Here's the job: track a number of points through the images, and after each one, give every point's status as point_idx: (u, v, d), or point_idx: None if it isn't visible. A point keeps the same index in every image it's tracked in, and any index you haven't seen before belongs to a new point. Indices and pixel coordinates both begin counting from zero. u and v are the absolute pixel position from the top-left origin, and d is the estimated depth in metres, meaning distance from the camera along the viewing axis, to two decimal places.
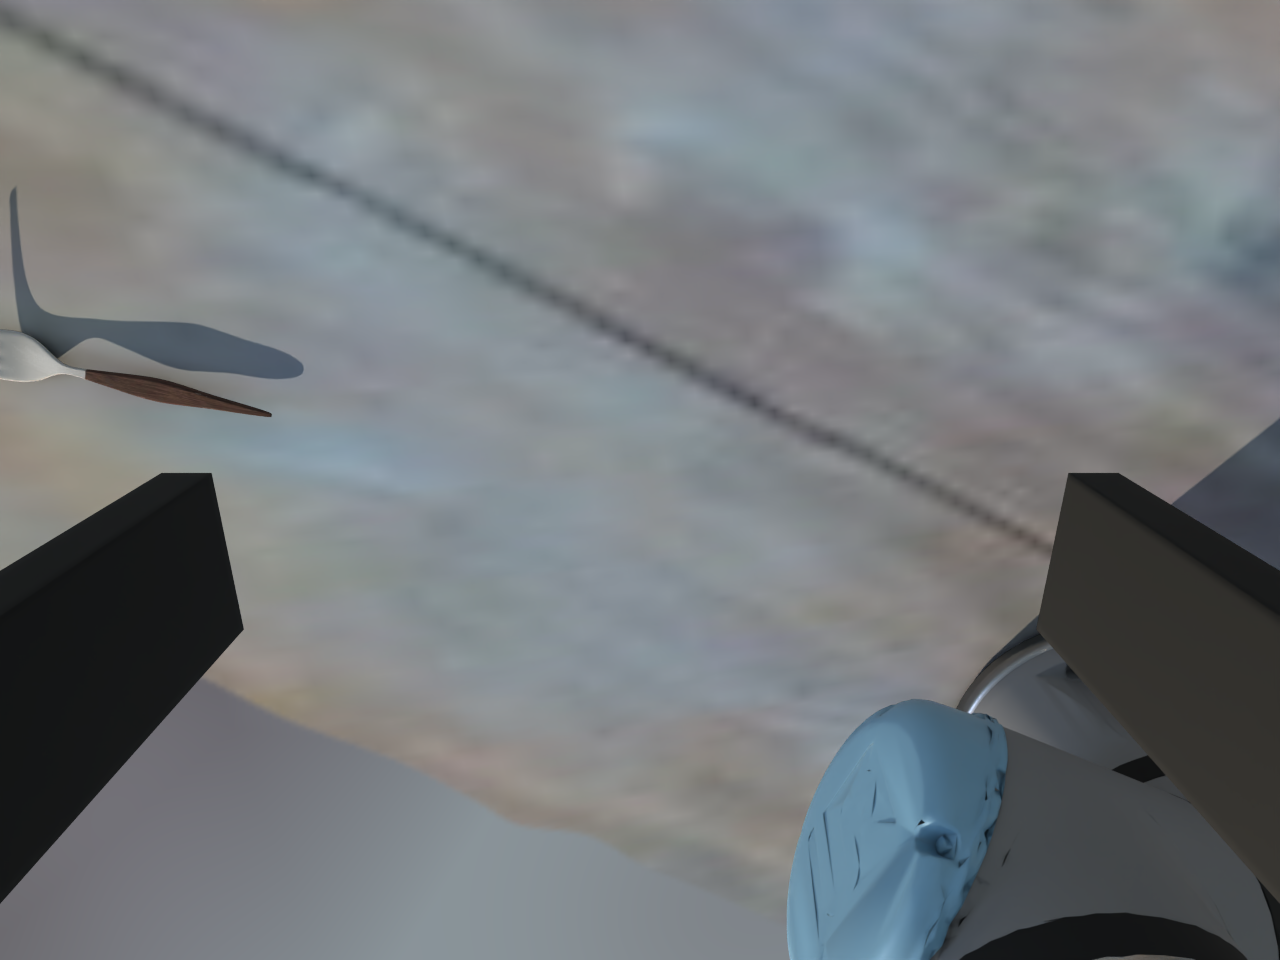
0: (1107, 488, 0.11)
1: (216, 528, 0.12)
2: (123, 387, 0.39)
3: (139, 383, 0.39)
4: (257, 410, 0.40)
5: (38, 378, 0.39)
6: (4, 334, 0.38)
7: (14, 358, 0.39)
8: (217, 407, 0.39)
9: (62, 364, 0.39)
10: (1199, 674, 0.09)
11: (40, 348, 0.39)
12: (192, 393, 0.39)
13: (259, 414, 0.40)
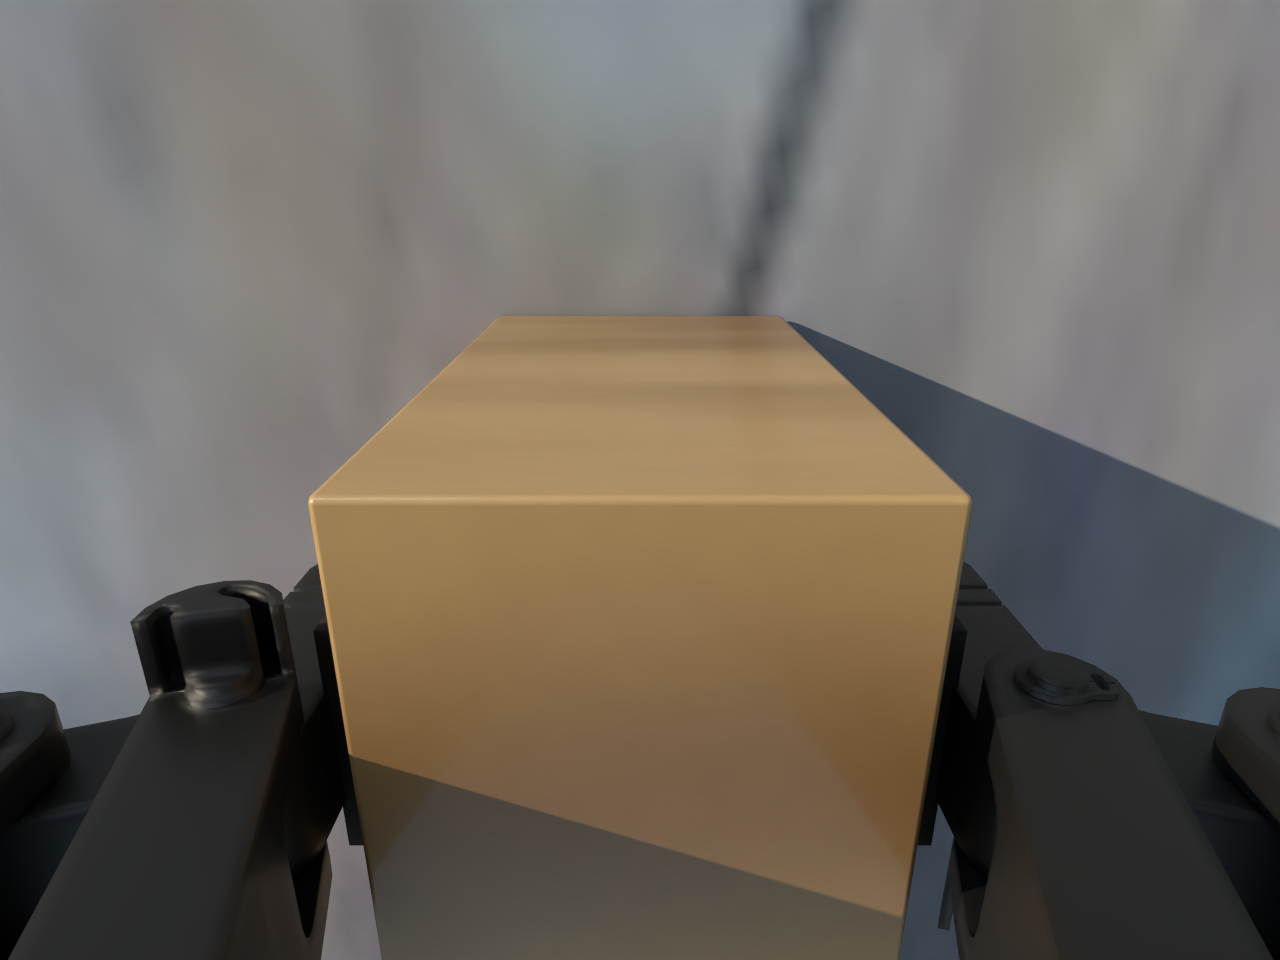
0: None
1: None
2: None
3: None
4: None
5: None
6: None
7: None
8: None
9: None
10: None
11: None
12: None
13: None
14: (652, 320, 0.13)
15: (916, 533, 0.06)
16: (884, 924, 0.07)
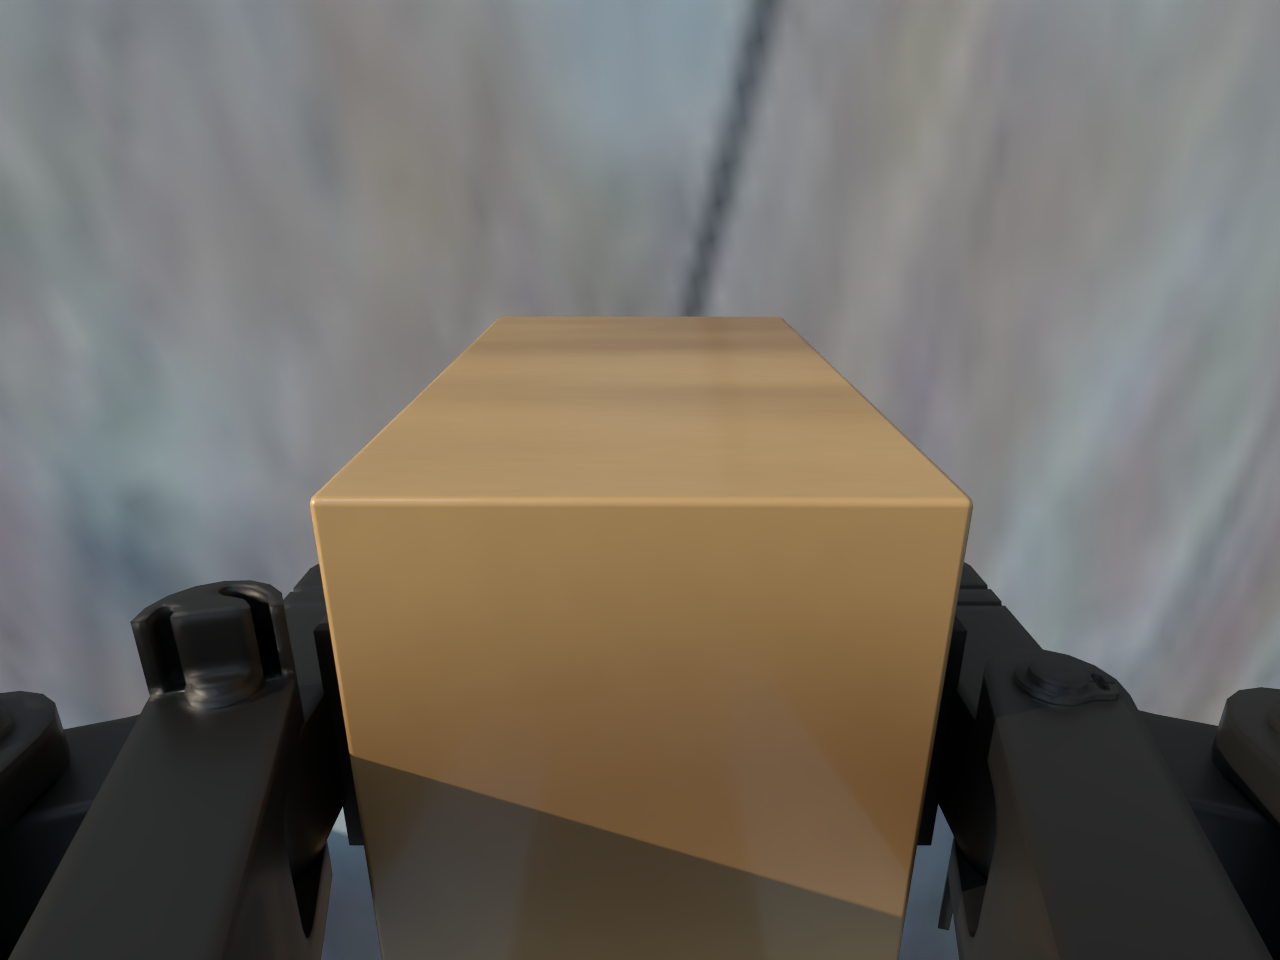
0: None
1: None
2: None
3: None
4: None
5: None
6: None
7: None
8: None
9: None
10: None
11: None
12: None
13: None
14: (652, 321, 0.13)
15: (916, 535, 0.06)
16: (883, 925, 0.07)
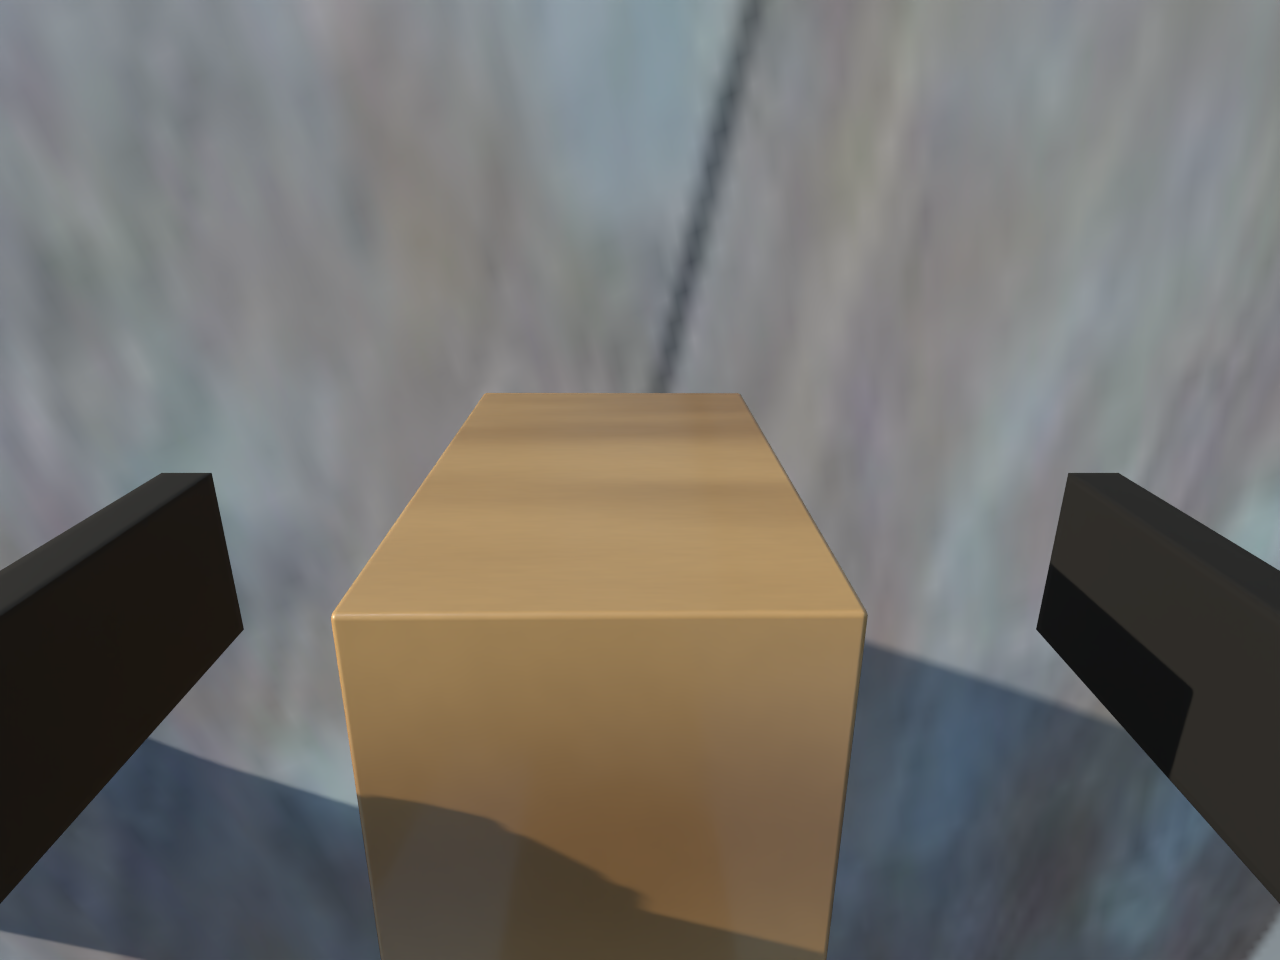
0: (1107, 488, 0.11)
1: (217, 528, 0.12)
2: None
3: None
4: None
5: None
6: None
7: None
8: None
9: None
10: (1199, 674, 0.09)
11: None
12: None
13: None
14: (623, 399, 0.14)
15: (823, 639, 0.07)
16: (809, 952, 0.09)
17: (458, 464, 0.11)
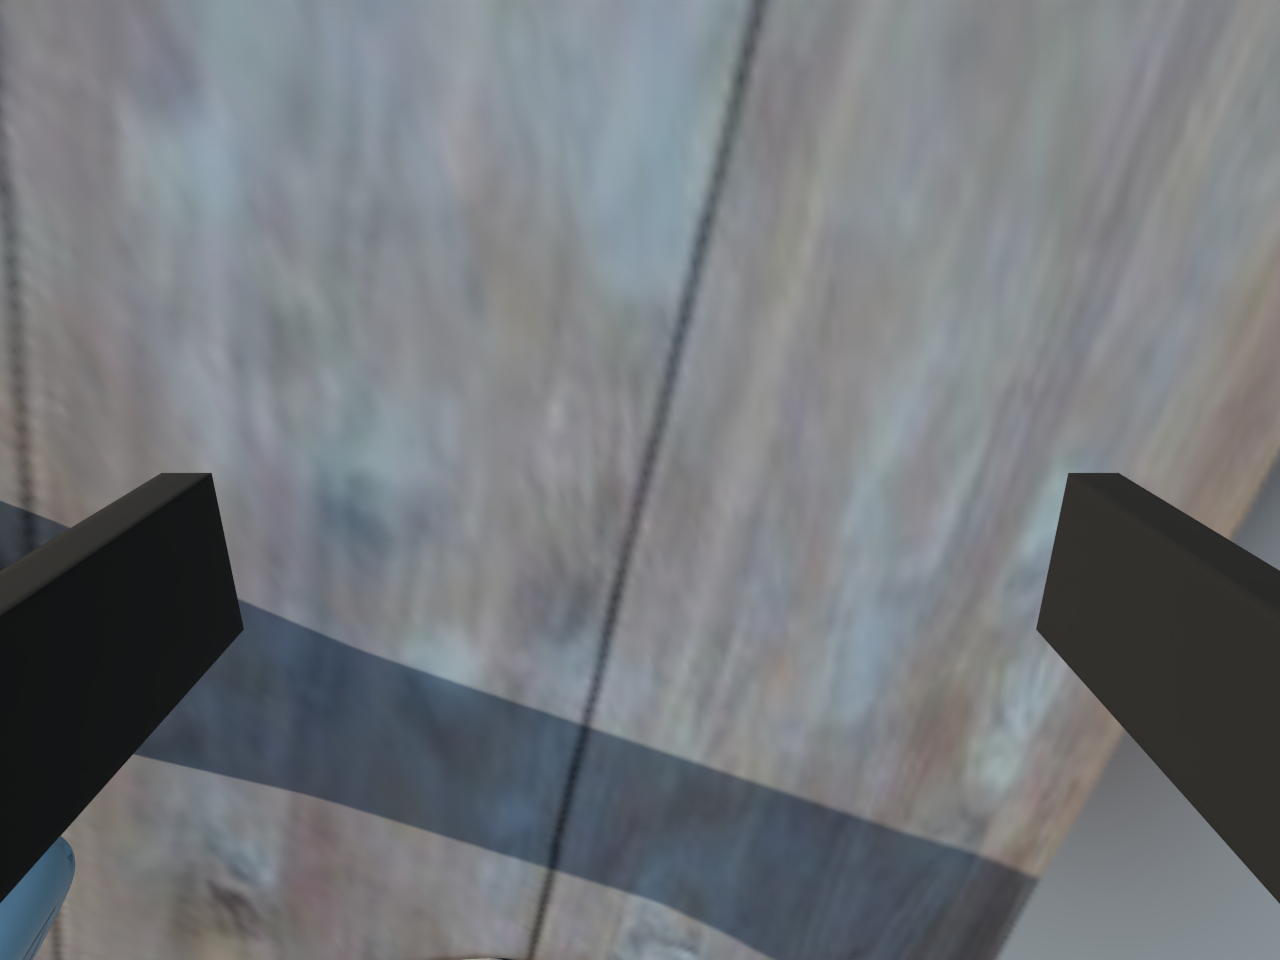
0: (1107, 488, 0.11)
1: (217, 528, 0.12)
2: None
3: None
4: None
5: None
6: None
7: None
8: None
9: None
10: (1199, 674, 0.09)
11: None
12: None
13: None
14: None
15: None
16: None
17: None
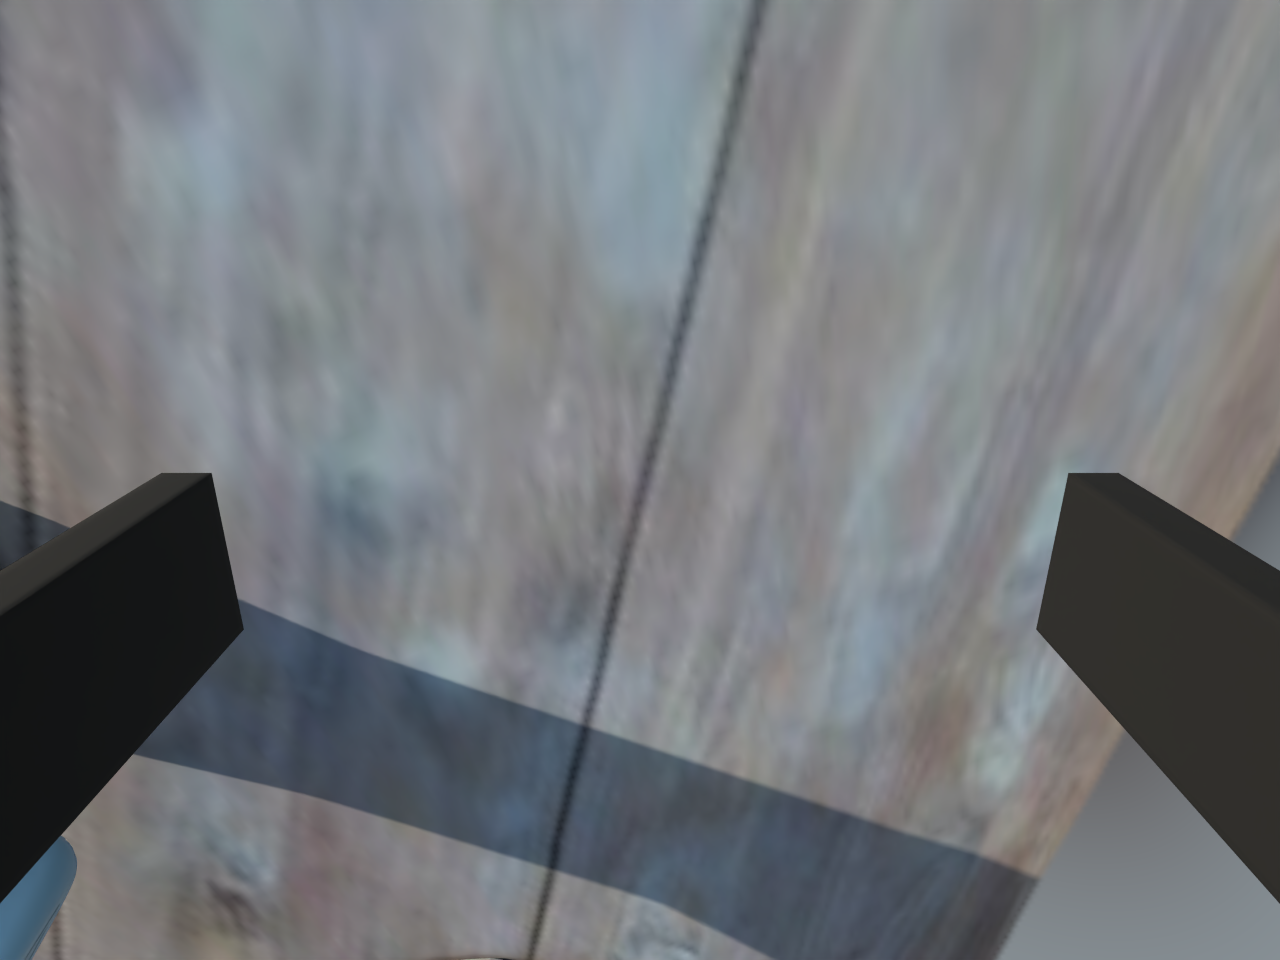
0: (1107, 488, 0.11)
1: (217, 528, 0.12)
2: None
3: None
4: None
5: None
6: None
7: None
8: None
9: None
10: (1199, 674, 0.09)
11: None
12: None
13: None
14: None
15: None
16: None
17: None
